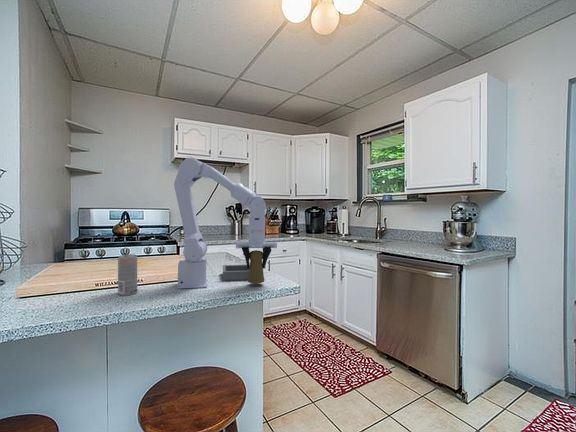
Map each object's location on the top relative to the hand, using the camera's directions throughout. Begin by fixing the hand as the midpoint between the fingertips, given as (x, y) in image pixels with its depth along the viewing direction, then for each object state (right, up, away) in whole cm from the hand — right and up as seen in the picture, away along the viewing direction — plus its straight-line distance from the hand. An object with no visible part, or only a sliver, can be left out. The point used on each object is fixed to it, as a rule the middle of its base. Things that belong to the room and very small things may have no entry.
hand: (255, 268), depth 103 cm
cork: (0, -5, 0) cm, 5 cm away
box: (-9, -5, +11) cm, 15 cm away
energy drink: (-39, -6, -12) cm, 42 cm away
